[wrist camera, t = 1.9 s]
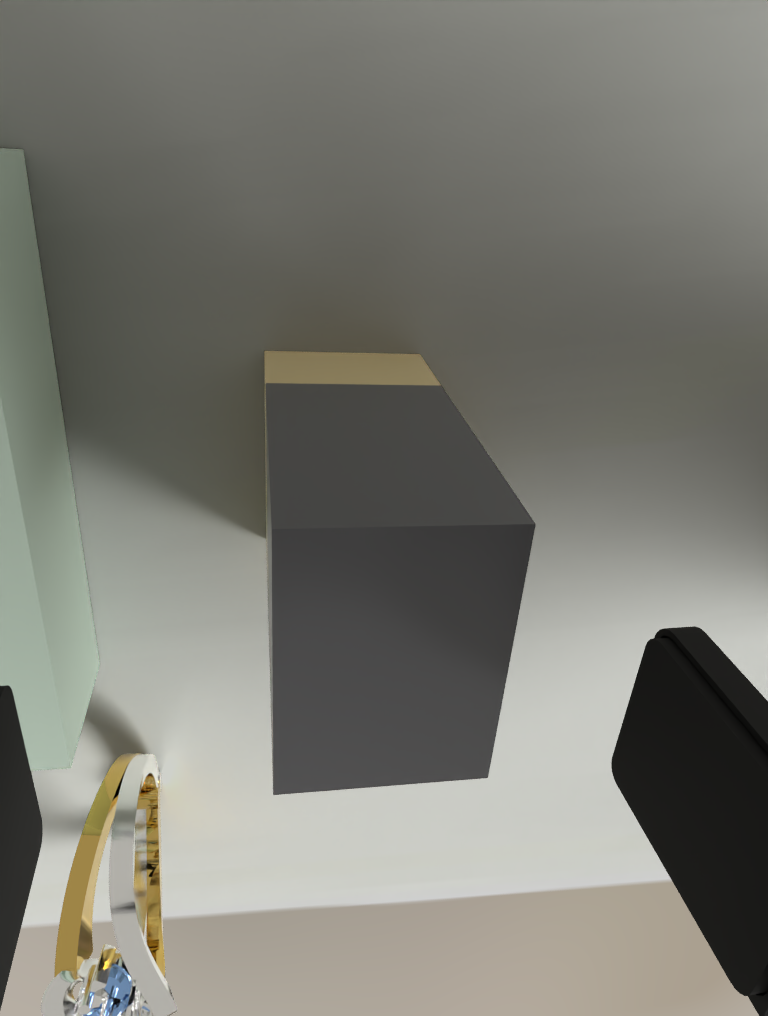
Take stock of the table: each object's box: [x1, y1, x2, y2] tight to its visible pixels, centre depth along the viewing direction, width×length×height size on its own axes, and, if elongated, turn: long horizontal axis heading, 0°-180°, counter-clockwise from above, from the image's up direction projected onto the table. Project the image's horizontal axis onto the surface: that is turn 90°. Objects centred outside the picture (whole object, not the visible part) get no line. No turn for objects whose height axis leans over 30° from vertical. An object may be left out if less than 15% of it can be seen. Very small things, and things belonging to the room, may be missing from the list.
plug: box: [264, 351, 535, 795], centre depth 16 cm, size 4×6×9 cm
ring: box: [41, 753, 177, 1016], centre depth 21 cm, size 7×3×8 cm, turn 173°
